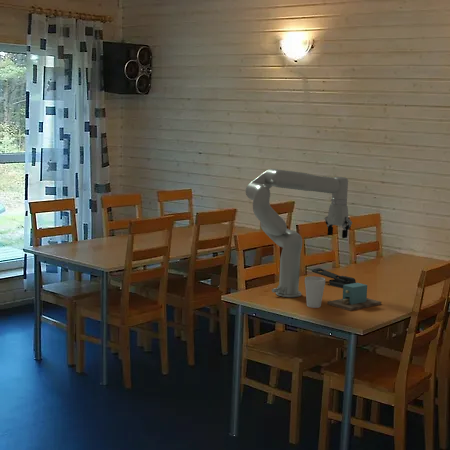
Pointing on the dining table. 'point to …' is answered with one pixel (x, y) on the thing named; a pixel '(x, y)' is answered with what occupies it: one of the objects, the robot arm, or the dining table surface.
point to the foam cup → (314, 291)
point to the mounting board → (345, 304)
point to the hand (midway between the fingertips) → (337, 236)
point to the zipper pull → (335, 278)
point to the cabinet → (355, 292)
